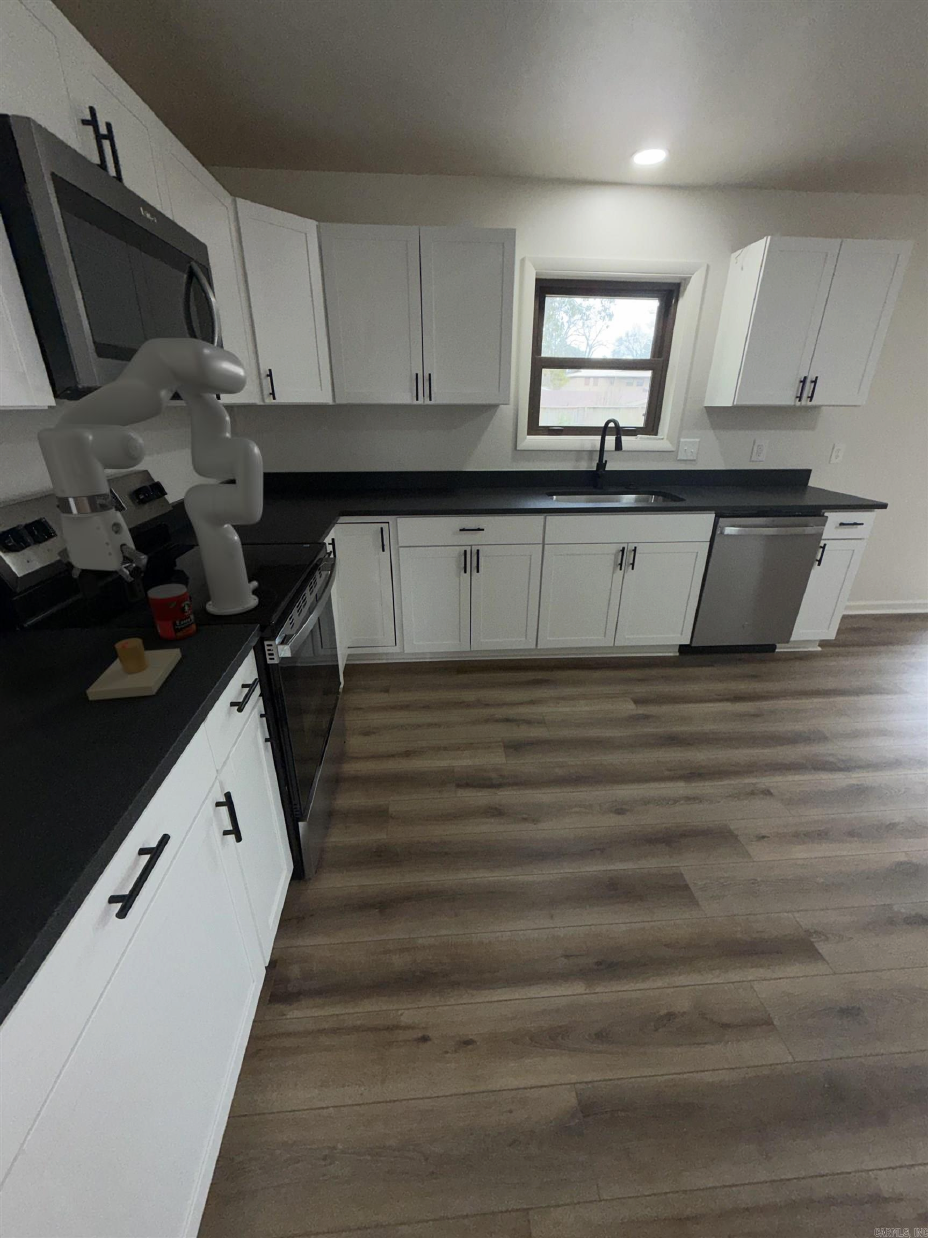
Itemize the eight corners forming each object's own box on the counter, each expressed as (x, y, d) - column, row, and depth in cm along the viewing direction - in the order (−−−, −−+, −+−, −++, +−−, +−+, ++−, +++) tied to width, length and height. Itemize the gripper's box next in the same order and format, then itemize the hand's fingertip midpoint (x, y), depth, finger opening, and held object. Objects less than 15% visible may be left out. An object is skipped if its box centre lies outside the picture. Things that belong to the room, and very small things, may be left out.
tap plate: (125, 660, 104) (122, 651, 103) (181, 656, 106) (179, 647, 105) (89, 700, 91) (85, 690, 90) (154, 694, 92) (151, 684, 91)
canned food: (181, 641, 112) (169, 596, 107) (151, 638, 114) (138, 594, 109) (204, 627, 119) (194, 584, 114) (175, 624, 120) (164, 582, 116)
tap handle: (128, 663, 99) (120, 637, 97) (152, 661, 100) (145, 635, 97) (119, 674, 95) (110, 647, 93) (143, 672, 96) (135, 646, 93)
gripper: (147, 502, 87) (170, 594, 93) (63, 499, 89) (91, 588, 96) (112, 510, 80) (140, 608, 87) (22, 506, 83) (56, 602, 89)
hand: (114, 597), depth 91 cm, fingers open, 9 cm apart
